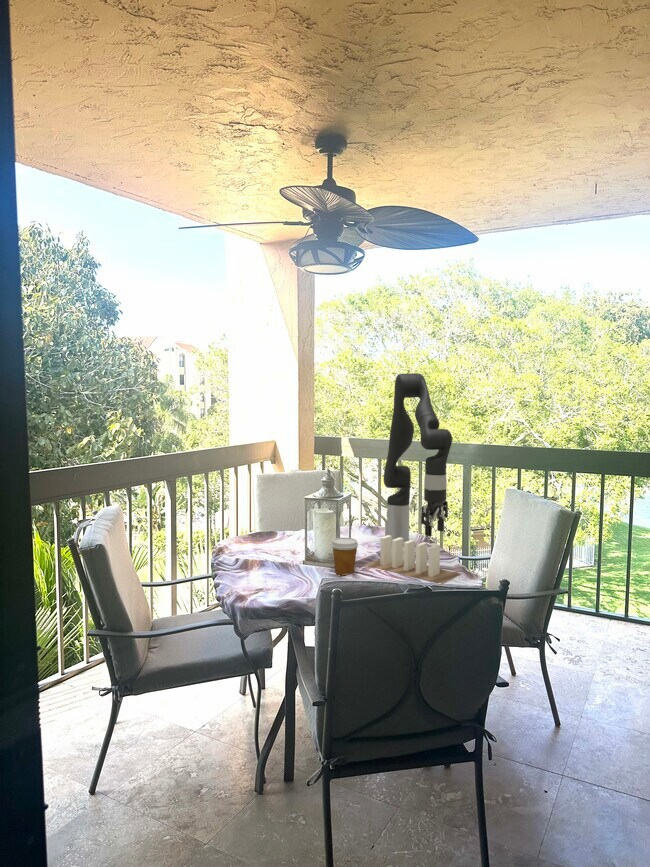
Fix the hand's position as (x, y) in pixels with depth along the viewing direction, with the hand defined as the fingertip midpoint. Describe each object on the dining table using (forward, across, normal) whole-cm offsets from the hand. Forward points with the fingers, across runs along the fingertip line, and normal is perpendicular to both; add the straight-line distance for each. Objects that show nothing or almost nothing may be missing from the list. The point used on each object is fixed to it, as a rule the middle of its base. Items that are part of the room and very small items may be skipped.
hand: (434, 533), depth 197 cm
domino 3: (+15, 0, -10) cm, 18 cm away
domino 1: (+15, 0, -20) cm, 25 cm away
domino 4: (+15, 0, -5) cm, 15 cm away
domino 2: (+15, 0, -15) cm, 21 cm away
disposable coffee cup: (+16, +17, -26) cm, 35 cm away
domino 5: (+14, 0, 0) cm, 15 cm away
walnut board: (+16, 0, -9) cm, 18 cm away
